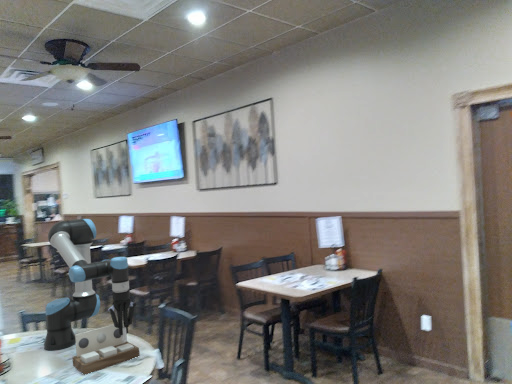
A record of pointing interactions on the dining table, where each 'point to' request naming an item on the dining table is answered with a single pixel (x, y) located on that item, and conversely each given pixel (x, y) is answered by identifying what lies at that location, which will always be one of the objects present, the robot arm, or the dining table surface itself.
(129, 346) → the button
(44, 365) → the dining table surface
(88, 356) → the button
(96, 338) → the pattern card
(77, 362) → the button board
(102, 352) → the middle button
